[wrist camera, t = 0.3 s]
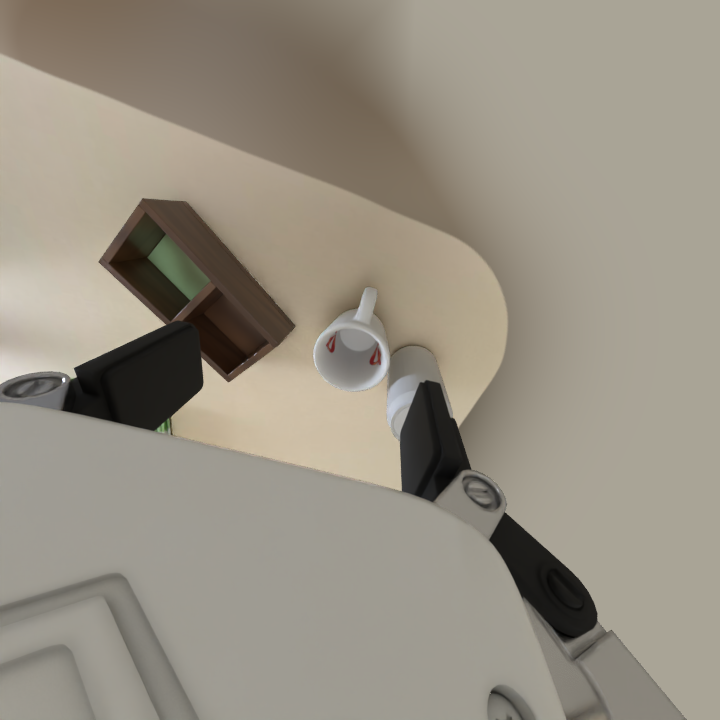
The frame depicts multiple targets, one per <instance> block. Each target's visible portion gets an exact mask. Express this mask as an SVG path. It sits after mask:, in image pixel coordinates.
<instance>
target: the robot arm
mask: <svg viewBox="0 0 720 720" xmlns="http://www.w3.org/2000/svg"><path fill="white" fill-rule="evenodd" d="M74 370H75V373H76V375H77V378H75V379H73V380H71V379H70V377H69V376H68V375H67V374H64V373H61V372H37V373H30V374H26V375H22V376H18V377H15V378H13V379H10V380H7V381H6V382H4V383H2V384H0V720H686V718H685V717H684V716H683V715H682V714H681V712H680V711H679V710H678V709H677V708H676V706H675V705H674V704H673V703H672V702H671V701H670V699H669V698H668V697H667V696H666V694H665V693H664V692H663V691H662V690H661V688H659V686H658V685H657V684H656V682H655V681H654V680H653V679H652V678H651V677H650V675H649V674H648V673H647V672H646V670H645V669H644V668H643V667H642V666H641V664H640V663H639V662H638V661H637V660H636V658H635V657H634V656H633V655H632V654H631V652H630V651H629V650H628V649H627V648H626V647H625V645H624V644H623V643H622V642H621V640H620V639H619V638H618V637H617V636H616V634H615V633H614V632H613V631H612V630H610V631H608V632H606V631H605V630H604V628H603V627H602V626H601V625H600V623H599V622H598V621H597V611H596V608H595V605H594V602H593V600H592V598H591V596H590V594H589V592H588V591H587V589H586V588H585V587H584V585H583V584H582V582H581V581H580V580H579V579H578V578H577V577H576V576H575V575H574V574H573V573H572V572H571V571H570V570H569V569H568V568H567V567H566V566H565V565H564V564H562V563H561V562H560V561H559V560H558V559H557V558H556V557H555V556H553V555H552V554H551V553H550V552H549V551H548V550H547V549H546V548H544V547H543V546H542V545H541V544H540V543H539V542H538V541H537V540H536V539H534V538H533V537H532V536H531V535H530V534H529V533H527V532H526V531H525V530H524V529H523V528H522V527H521V526H520V525H519V524H517V523H516V522H515V521H514V520H513V519H512V518H511V517H510V516H509V515H507V514H506V513H505V510H506V506H507V503H506V498H505V496H504V494H503V492H502V490H501V489H500V487H499V486H498V485H497V484H496V483H495V482H494V481H493V480H492V479H491V478H489V477H488V476H486V475H485V474H483V473H480V472H478V471H475V470H471V467H470V464H469V461H468V458H467V455H466V452H465V448H464V445H463V442H462V439H461V436H460V433H459V430H458V427H457V423H456V421H455V419H454V418H451V417H450V414H449V411H448V408H447V404H446V401H445V398H444V394H443V391H442V388H441V384H440V383H438V382H434V381H429V380H425V382H424V383H423V382H420V383H419V385H418V388H417V390H416V393H415V395H414V398H413V401H412V403H411V406H410V408H409V411H408V413H407V416H406V419H405V421H404V424H403V426H402V429H401V432H400V454H401V478H402V491H398V490H395V489H391V488H388V487H384V486H381V485H377V484H373V483H369V482H365V481H361V480H357V479H353V478H349V477H345V476H341V475H337V474H333V473H329V472H325V471H321V470H316V469H312V468H308V467H304V466H300V465H296V464H292V463H287V462H283V461H279V460H275V459H271V458H267V457H262V456H258V455H254V454H250V453H245V452H241V451H237V450H233V449H228V448H224V447H220V446H216V445H211V444H207V443H203V442H199V441H194V440H190V439H186V438H181V437H177V436H173V435H168V434H164V433H160V432H155V430H156V429H157V428H159V427H160V426H161V425H162V424H163V423H164V422H165V421H166V420H168V419H169V418H170V417H171V416H172V415H173V414H174V413H175V412H176V411H178V410H179V409H180V408H181V407H182V406H183V405H184V404H185V403H187V402H188V401H189V400H190V399H191V398H192V397H193V396H194V395H196V394H197V393H198V392H199V391H200V390H201V389H202V387H203V372H202V361H201V350H200V339H199V331H198V329H197V328H195V326H194V325H193V324H191V323H187V322H183V321H178V320H177V321H174V322H172V323H170V324H168V325H166V326H163V327H161V328H159V329H157V330H155V331H153V332H150V333H148V334H146V335H144V336H142V337H140V338H138V339H135V340H133V341H131V342H129V343H127V344H125V345H123V346H120V347H118V348H116V349H114V350H112V351H110V352H107V353H105V354H103V355H101V356H99V357H97V358H95V359H92V360H90V361H88V362H86V363H84V364H82V365H80V366H77V367H75V368H74ZM490 693H491V694H490Z"/></svg>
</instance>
